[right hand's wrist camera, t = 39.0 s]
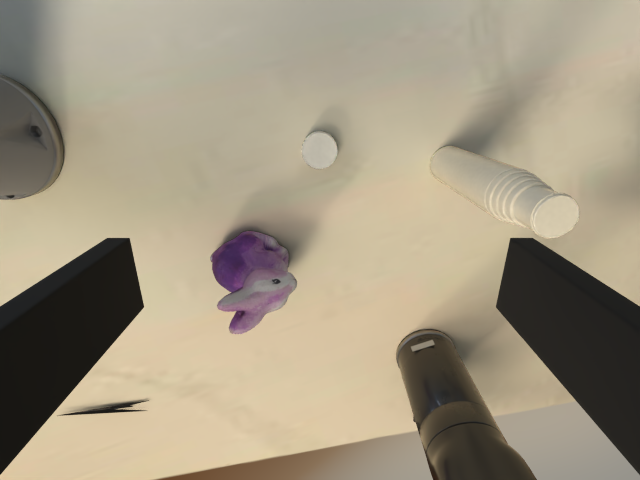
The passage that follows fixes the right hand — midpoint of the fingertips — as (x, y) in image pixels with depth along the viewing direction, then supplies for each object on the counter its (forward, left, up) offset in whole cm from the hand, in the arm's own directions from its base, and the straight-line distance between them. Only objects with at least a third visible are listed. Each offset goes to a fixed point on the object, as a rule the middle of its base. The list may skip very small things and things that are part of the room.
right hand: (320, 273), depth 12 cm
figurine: (-17, -2, -36) cm, 39 cm away
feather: (-61, +7, -36) cm, 71 cm away
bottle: (+8, -14, -36) cm, 39 cm away
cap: (0, 0, -33) cm, 33 cm away
